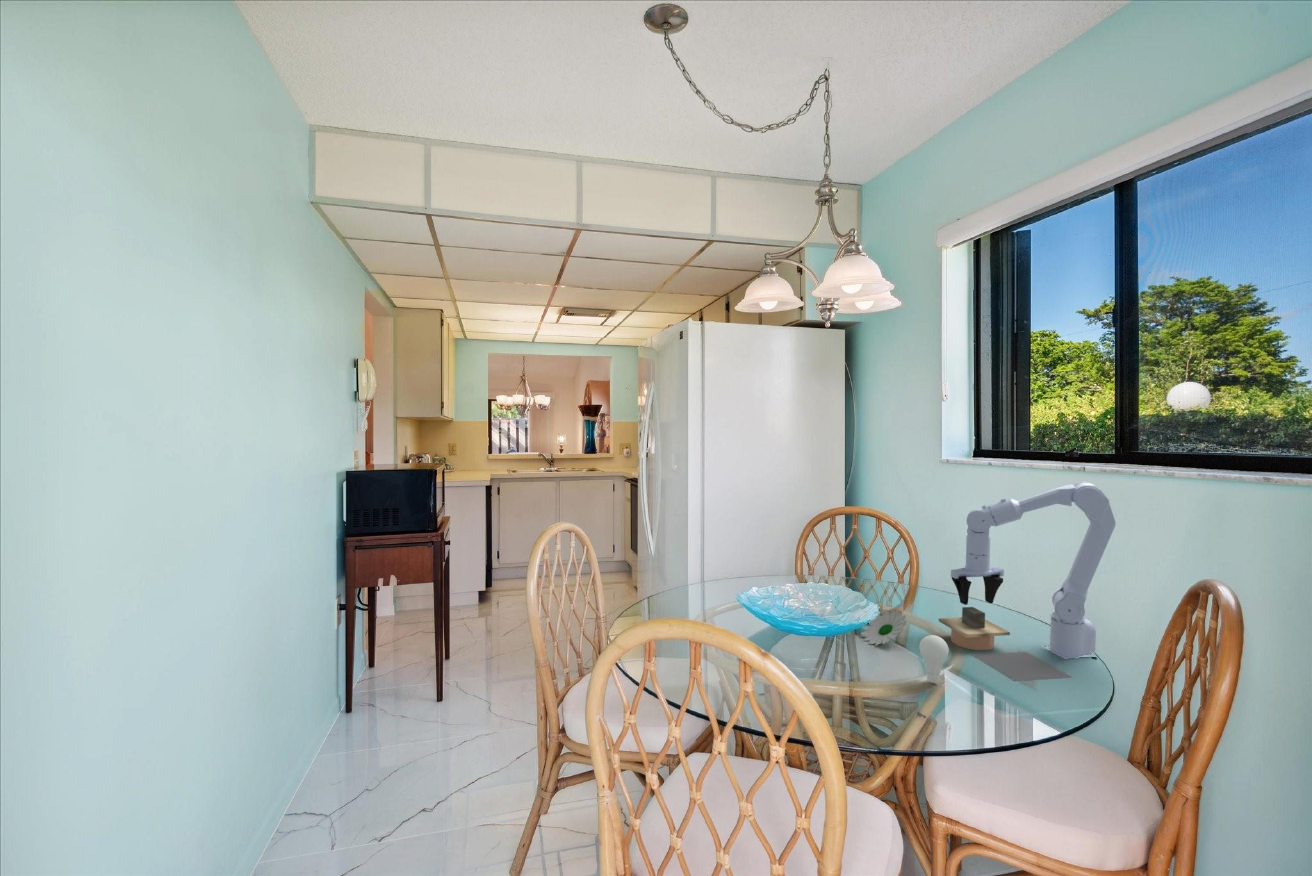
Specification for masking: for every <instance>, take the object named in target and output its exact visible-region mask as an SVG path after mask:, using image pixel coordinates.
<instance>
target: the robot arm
mask: <svg viewBox="0 0 1312 876" xmlns="http://www.w3.org/2000/svg"><path fill="white" fill-rule="evenodd" d="M1072 503H1074V505H1076V506H1077V508H1079V509H1080V511H1082V512H1083V513H1084V514H1085V516H1086V517H1087V519H1088V521H1089V525H1088V528H1087V530H1086V533H1085V534H1084V537H1083V540H1082V542H1081V544H1080V547H1079V549H1078V551H1077V554H1076V556H1075V558H1074V560H1073V563H1072V565H1071V568H1070V570H1069V572H1068V575H1067V577H1066V579H1065V580H1064V581H1063V582H1062V585H1061V587H1060V588H1059V589H1057V590H1056V591H1055V592H1054V593H1053V595H1052V598H1051V601H1052V604H1053V606H1054V607H1053V608H1054V611H1053V612H1052V613H1051V614H1050V629H1049V631H1050V632H1049V646H1050V647H1047V646H1048V645H1041V648H1042V649H1044V650H1046V649H1050V650H1049V651H1048V652H1050V651H1051V652H1050V653H1052V654H1054V655H1057V656H1058V657H1060V658H1062V659H1064V660H1070V659H1069V658H1075V659H1077V658H1076V657H1079V656H1083V655H1089V654H1090V655H1091V654H1092V653H1094V654H1095V655H1096V641H1097V640H1096V637H1097V632H1096V627H1095V626H1094V624H1093V623H1092V621H1090V620H1089V619H1088V618H1084V617H1085V614H1086V611H1085V603H1086V600H1087V596H1088V589H1089V587H1090V585H1091V582H1092V580H1093V577H1094V576H1095V574H1096V571H1097V568H1098V566H1099V564H1100V562H1101V559H1102V558H1103V555H1104V553H1105V552H1106V551H1105V550H1106V548H1107V546H1108V544H1109V541H1110V539H1111V537H1112V535H1113V532H1114V530H1115V527H1116V519H1115V516H1114V514H1113V510H1112V507H1111V504H1110V500H1109V498H1108V497H1107V495H1105V493H1104V492H1103V491H1102V490H1101V489H1100V488H1099V487H1098V486H1096V484H1094V483H1092V482H1088V481H1079V482H1077V483H1075V484H1066V485H1063V486H1060V487H1056V488H1052V489H1049V490H1047V491H1043V492H1041V493H1038V494H1034V495H1033V496H1030V497H1027V498H1024V499H1021V500H1016V499H1013V498H1008V499H1006V497H1004V498H1001V499H1000V500H999V501H998V502H995V503H993V504H989V505H986V504H984V505H981V508H973V509H972V510H970V511H969V513H968V514H967V516H966V525H967V529H966V533H967V535H966V541H965V542H966V543H965V544H966V545H965V566H964V567H961V568H957V569H956V568H955V569H950V577H951V580H952V582H953V583H954V584H953V585H954V586H955V588H956V591H957V594H958V598H959V603H961V604H963V605H964V606H965V605H969V592H970V588H971V585H972V581H970V580H968V578H977V577H981V578H982V579H983V583H984V584H983V585H984V601H985V602H986V603H988V604H993V603H994V600H995V597H996V594H997V593H998V590H999V589H1000V587H1001V585H1002V584H1003V582H1004V578H1003V577H1004V575H1005V574H1004V573H1005V569H1004V568H1000V567H991V566H990V565H991V564H990V563H991V559H990V558H991V537H990V528H991V527H995V528H996V527H998V526H999V527H1000V526H1003V525H1005V524H1008V523H1012V522H1015V521H1018V520H1021V519H1022V517H1023V514H1025V513H1027V512H1031V511H1035V510H1038V509H1043V508H1046V507H1050V506H1054V505H1063V506H1067V507H1072V506H1073V504H1072ZM1044 646H1046V647H1044ZM1090 651H1091V652H1092V653H1091V652H1090Z"/></svg>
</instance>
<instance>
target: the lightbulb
mask: <svg viewBox="0 0 1312 876" xmlns="http://www.w3.org/2000/svg"><path fill="white" fill-rule="evenodd" d="M918 648H919V653H920V655H921V657H922V659H923V661H924V662H923V663H924V664H925V671H926V679H927V681H928V682H929V683H930V684H932V683H934V684H936V683H939V682H940V675H941V673H942V667H943V665H944V663H945V662H946V660H947V659H948V657H949V652H950V649H949V646H948V643H947V642H946V641H945V640H944V639H943V638H942V637H940V636H938V635H936V634H935V635H934V634H930V635H927V636H924V637H923V638H921V640H920V642H919V647H918ZM934 684H933V685H934Z"/></svg>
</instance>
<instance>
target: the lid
mask: <svg viewBox="0 0 1312 876" xmlns="http://www.w3.org/2000/svg"><path fill="white" fill-rule="evenodd" d="M961 609H962V610H961V614H962V615H961V617H960V616H958V617H943V618H942V617H938V622H940V623H941V624H943V625H944V626H946V627H948V628H950V630H951V629H953V630H955V631H956V632H958V633H960V634H962V635H963V636H965V637H967V638H968V637H986V636H994V637H997V636H998V637H1001V636H1011V633H1010V631H1009V630H1007V629H1004V628H1003V627H1000V626H998V625H996V624H995V623H993V622H991V621H989V620H986V612H984V611H982V610H979V608H975V607H974V606H968V607H965V606H964V607H962V608H961Z"/></svg>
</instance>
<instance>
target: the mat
mask: <svg viewBox="0 0 1312 876" xmlns="http://www.w3.org/2000/svg"><path fill="white" fill-rule="evenodd" d="M971 656H972V657H974V658H976V659H977V660H979V661H980V662H982V663H984V664H985V665H987V666H989V667H990V668H992V669H994V670H995V671H997V672H998V673H1000V674H1002V675H1004V676H1005V677H1006V678H1008V679H1010V680H1011V681H1013V682H1025V681H1037V680H1038V681H1039V680H1051V679H1054V680H1055V679H1068V678H1073V676H1072V675H1070V674H1068V673H1066V672H1064V671H1063V670H1060V669H1058V668H1057V667H1055V666H1053V665H1051V664H1050V663H1047V662H1045V661H1043V660H1041V659H1040V658H1038V657H1036V656H1034V655H1033V654H1030V653H1029V652H1026V651H1015V652H1014V651H1012V652H1011V651H1010V652H999V653H998V652H997V653H996V652H995V653H981V654H978V653H977V654H971Z"/></svg>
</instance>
